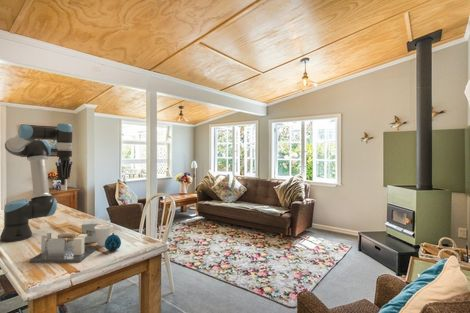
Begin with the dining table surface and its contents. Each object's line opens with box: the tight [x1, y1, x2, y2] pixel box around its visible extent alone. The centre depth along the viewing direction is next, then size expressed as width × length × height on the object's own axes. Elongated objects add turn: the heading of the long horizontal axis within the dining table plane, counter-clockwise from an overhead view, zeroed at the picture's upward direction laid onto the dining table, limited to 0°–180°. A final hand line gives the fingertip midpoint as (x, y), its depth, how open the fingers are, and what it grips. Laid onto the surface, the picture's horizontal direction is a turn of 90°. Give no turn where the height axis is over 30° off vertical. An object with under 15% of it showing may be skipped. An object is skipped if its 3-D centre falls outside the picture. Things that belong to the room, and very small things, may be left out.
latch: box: [73, 233, 87, 255], centre depth 136 cm, size 4×6×9 cm, turn 4°
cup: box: [94, 223, 113, 247], centre depth 152 cm, size 10×10×11 cm
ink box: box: [81, 219, 99, 244], centre depth 158 cm, size 9×9×12 cm
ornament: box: [104, 232, 122, 252], centre depth 144 cm, size 8×5×10 cm, turn 114°
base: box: [29, 232, 98, 263], centre depth 136 cm, size 24×18×11 cm
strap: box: [47, 237, 76, 242], centre depth 136 cm, size 18×2×1 cm, turn 94°
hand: (63, 190), depth 150 cm, fingers closed
